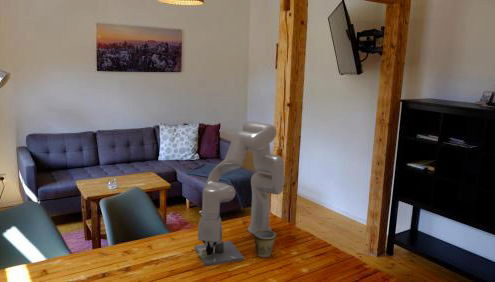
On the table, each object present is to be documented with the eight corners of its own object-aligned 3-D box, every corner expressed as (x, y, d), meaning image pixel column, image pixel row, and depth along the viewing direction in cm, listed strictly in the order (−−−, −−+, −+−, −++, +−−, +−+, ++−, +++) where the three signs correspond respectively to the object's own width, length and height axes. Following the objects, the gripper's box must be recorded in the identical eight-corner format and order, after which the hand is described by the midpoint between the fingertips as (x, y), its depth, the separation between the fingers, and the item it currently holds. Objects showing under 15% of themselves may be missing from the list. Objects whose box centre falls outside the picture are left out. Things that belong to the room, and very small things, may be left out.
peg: (220, 248, 190) (221, 240, 190) (225, 252, 187) (225, 244, 186) (198, 253, 185) (198, 245, 184) (202, 257, 181) (203, 249, 180)
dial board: (192, 248, 192) (192, 245, 192) (230, 243, 199) (230, 240, 199) (203, 266, 176) (203, 263, 176) (243, 259, 183) (244, 257, 183)
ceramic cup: (271, 260, 183) (272, 239, 182) (250, 256, 187) (251, 235, 185) (278, 248, 196) (279, 229, 194) (258, 245, 199) (259, 225, 197)
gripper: (191, 215, 176) (190, 255, 180) (224, 220, 173) (223, 260, 177) (197, 210, 184) (196, 248, 187) (229, 214, 181) (227, 252, 184)
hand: (209, 253), depth 182 cm, fingers closed
